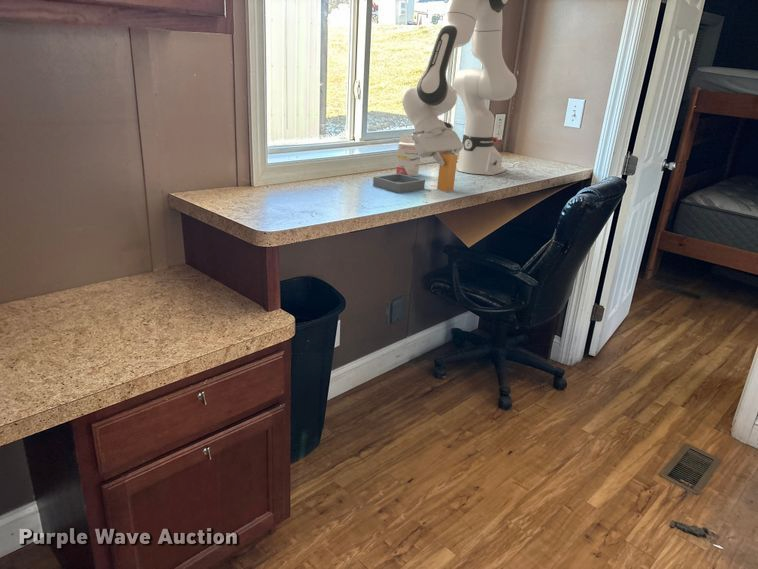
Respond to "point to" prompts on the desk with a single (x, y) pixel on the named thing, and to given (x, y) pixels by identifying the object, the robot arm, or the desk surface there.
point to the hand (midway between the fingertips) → (449, 164)
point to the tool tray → (398, 183)
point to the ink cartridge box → (407, 157)
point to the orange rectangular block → (447, 173)
